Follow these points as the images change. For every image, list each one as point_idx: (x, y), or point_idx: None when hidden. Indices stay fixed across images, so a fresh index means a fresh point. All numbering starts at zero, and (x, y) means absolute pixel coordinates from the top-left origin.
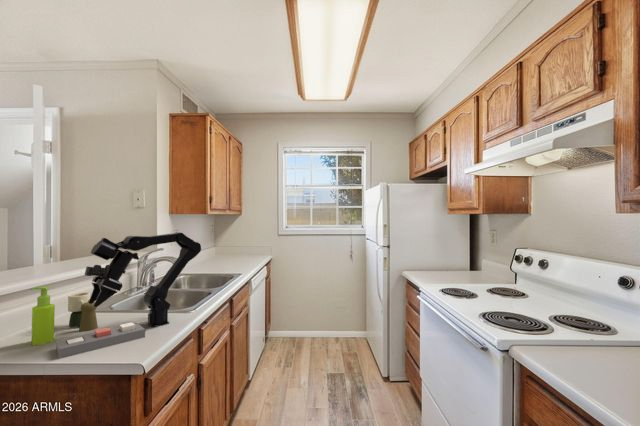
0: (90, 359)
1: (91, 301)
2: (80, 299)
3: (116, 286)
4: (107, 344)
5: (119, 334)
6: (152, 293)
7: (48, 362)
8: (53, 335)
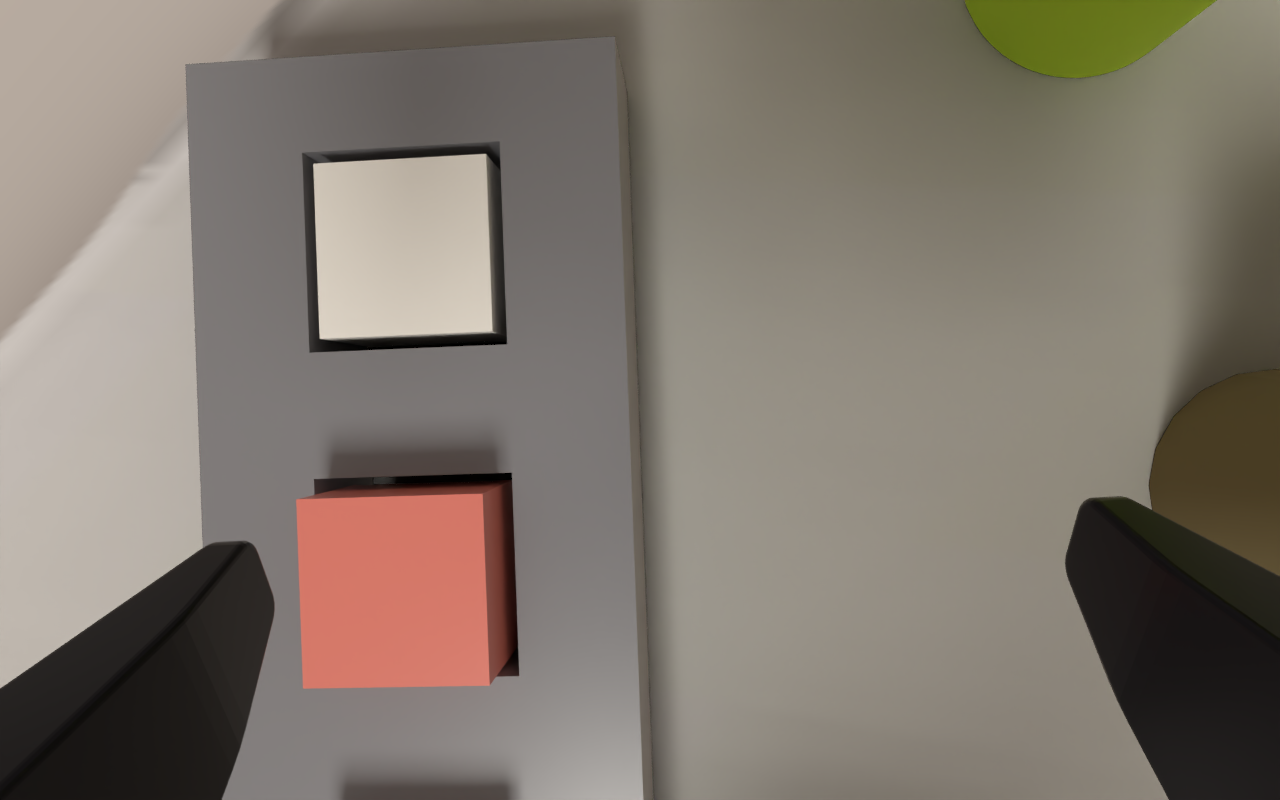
0: (63, 379)
1: (1104, 582)
2: None
3: None
4: None
5: (238, 759)
6: None
7: (290, 26)
8: (1078, 34)
